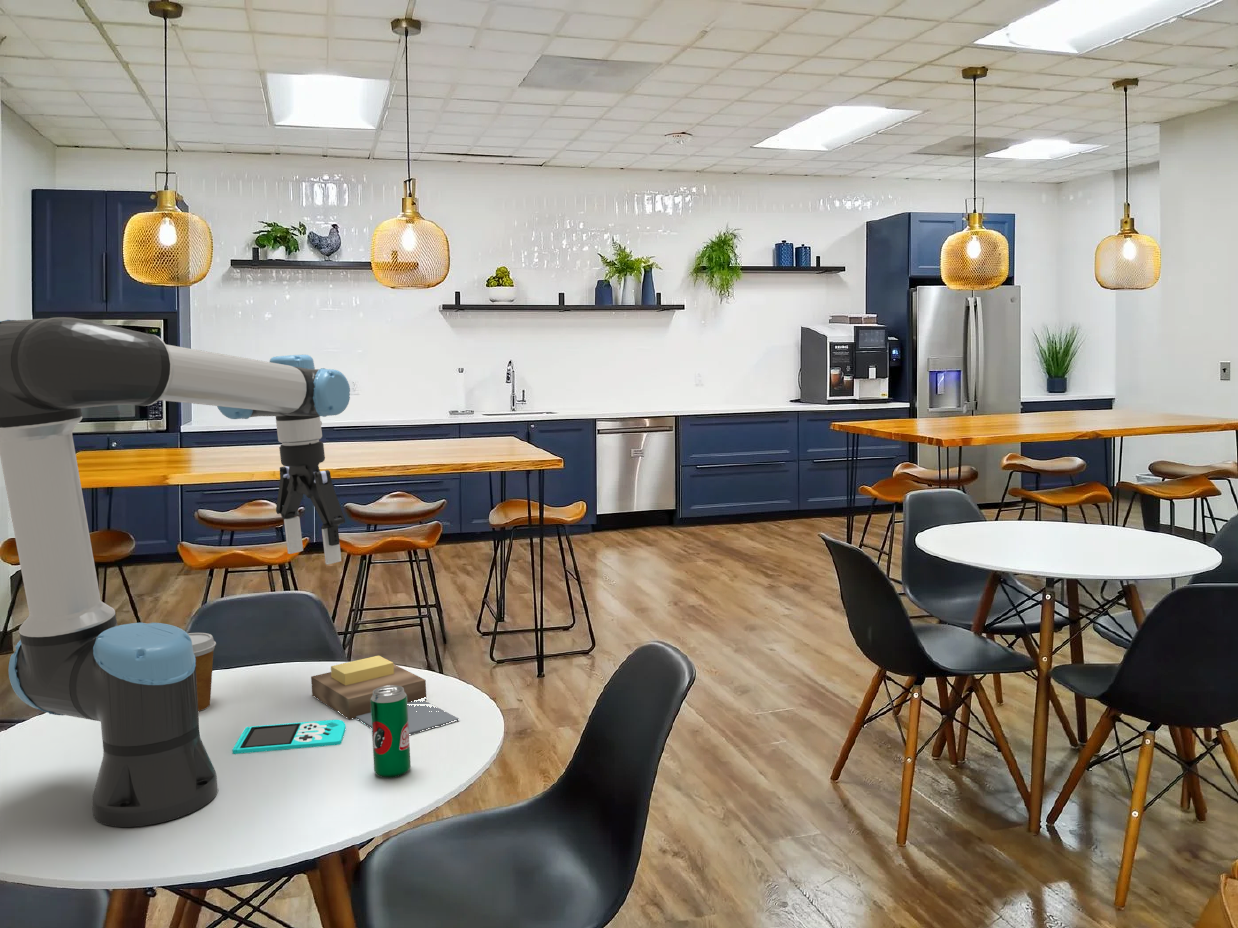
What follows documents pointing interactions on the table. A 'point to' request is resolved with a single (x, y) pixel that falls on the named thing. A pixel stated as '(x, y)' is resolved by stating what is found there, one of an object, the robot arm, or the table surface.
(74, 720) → the table surface
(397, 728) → the soda can
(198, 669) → the disposable coffee cup
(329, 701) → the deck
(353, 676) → the yellow rectangular block
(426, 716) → the mat
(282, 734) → the handheld game console
